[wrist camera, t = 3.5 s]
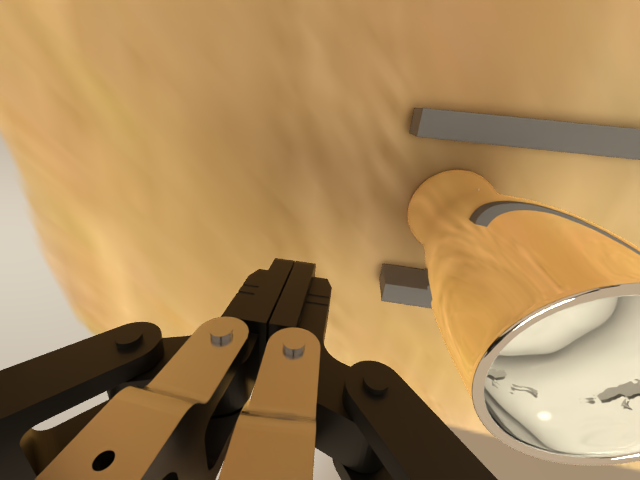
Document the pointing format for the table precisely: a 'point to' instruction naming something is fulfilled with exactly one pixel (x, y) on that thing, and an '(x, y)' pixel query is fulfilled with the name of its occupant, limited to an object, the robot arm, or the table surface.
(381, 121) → the table surface
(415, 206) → the beer glass
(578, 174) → the table surface
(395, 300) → the u rest
